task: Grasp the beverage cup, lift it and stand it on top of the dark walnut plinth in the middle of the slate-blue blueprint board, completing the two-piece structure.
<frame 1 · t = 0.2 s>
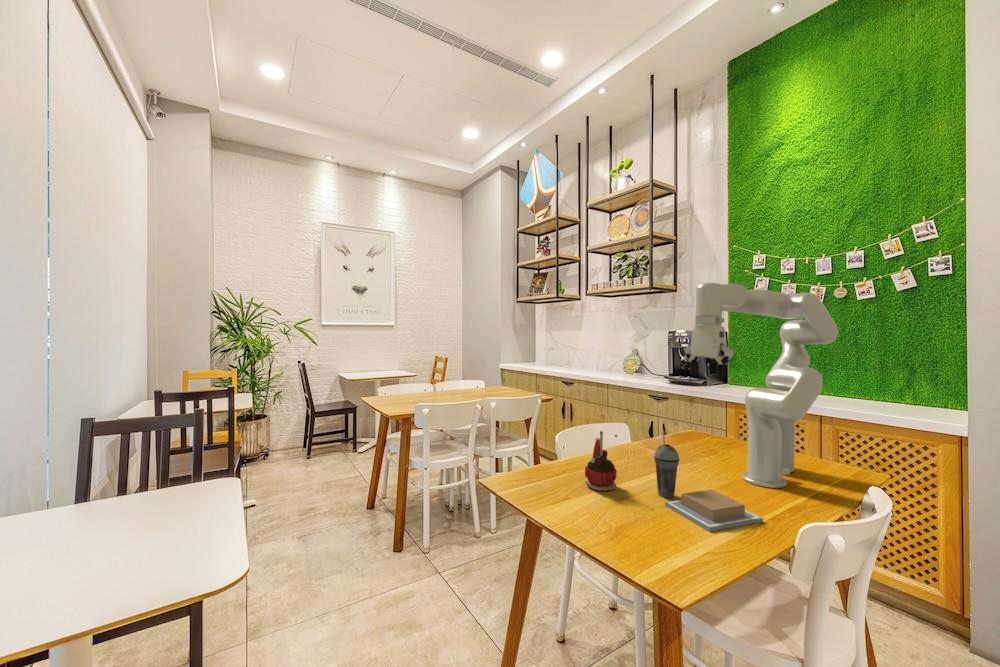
hand: (706, 375, 129), 36 cm above the table, tool pointing down, fingers open, 9 cm apart
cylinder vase: (773, 468, 150), on the table
beverage cup: (666, 496, 124), on the table
blueprint board: (711, 513, 112), on the table
cake: (600, 487, 131), on the table
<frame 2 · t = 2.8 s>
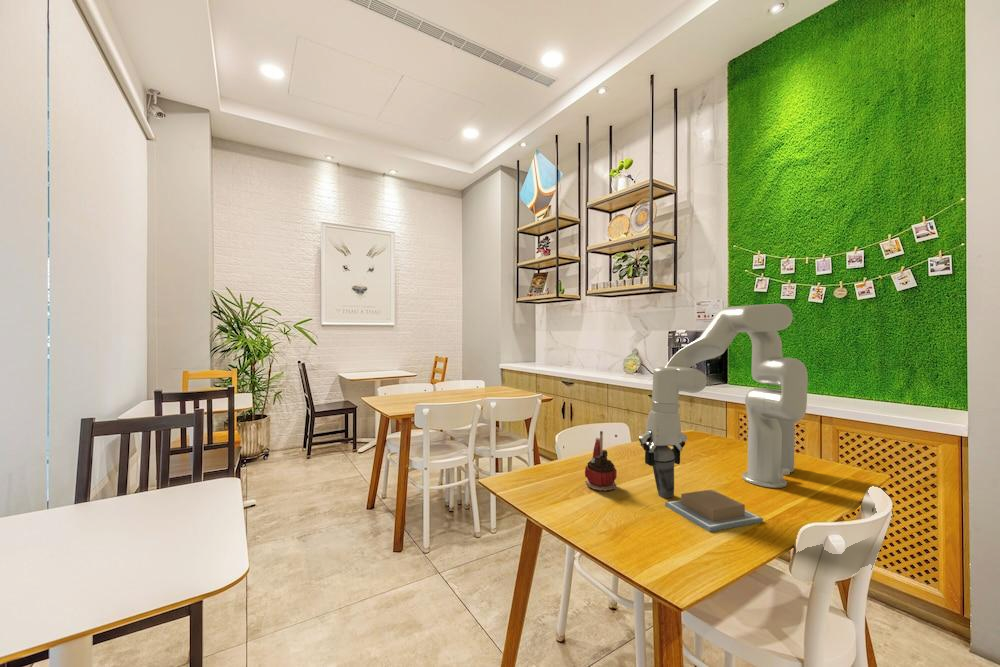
hand: (662, 463, 124), 10 cm above the table, tool pointing down, fingers open, 9 cm apart
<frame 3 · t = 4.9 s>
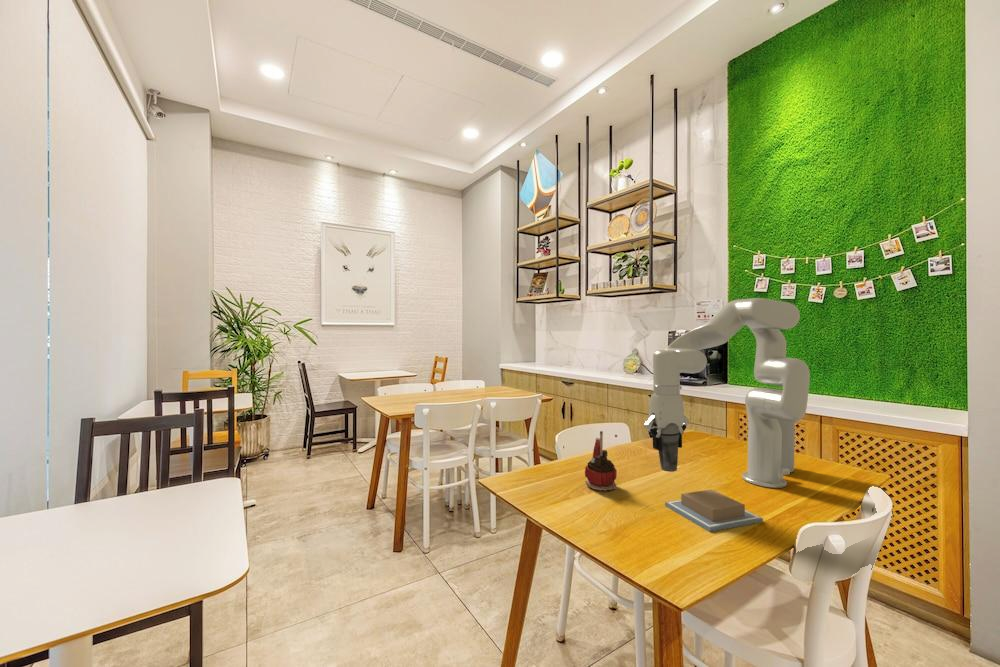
hand: (667, 447, 124), 15 cm above the table, tool pointing down, fingers closed on beverage cup, 6 cm apart
beverage cup: (669, 469, 124), point 8 cm above the table, touching gripper
everything else where it was.
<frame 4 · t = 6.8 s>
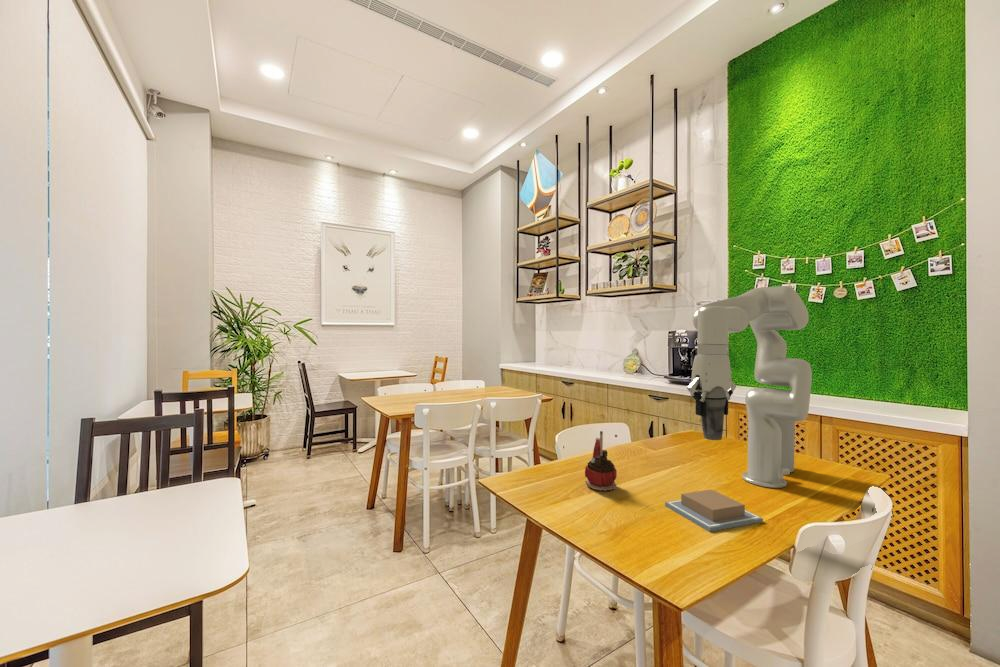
hand: (711, 414, 112), 28 cm above the table, tool pointing down, fingers closed on beverage cup, 6 cm apart
beverage cup: (712, 438, 112), point 21 cm above the table, touching gripper
everything else where it was.
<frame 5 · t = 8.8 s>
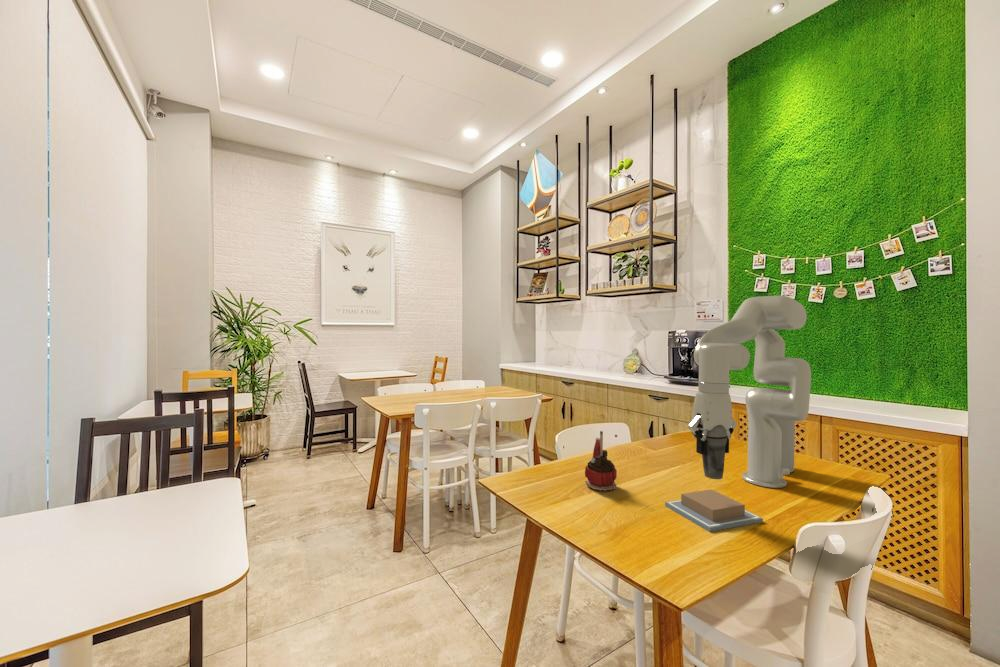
hand: (712, 452, 112), 17 cm above the table, tool pointing down, fingers closed on beverage cup, 6 cm apart
beverage cup: (713, 476, 112), point 10 cm above the table, touching gripper
everything else where it was.
when the fingers open (12 cm above the table, at t = 10.4 s): beverage cup drops 1 cm, resting on blueprint board.
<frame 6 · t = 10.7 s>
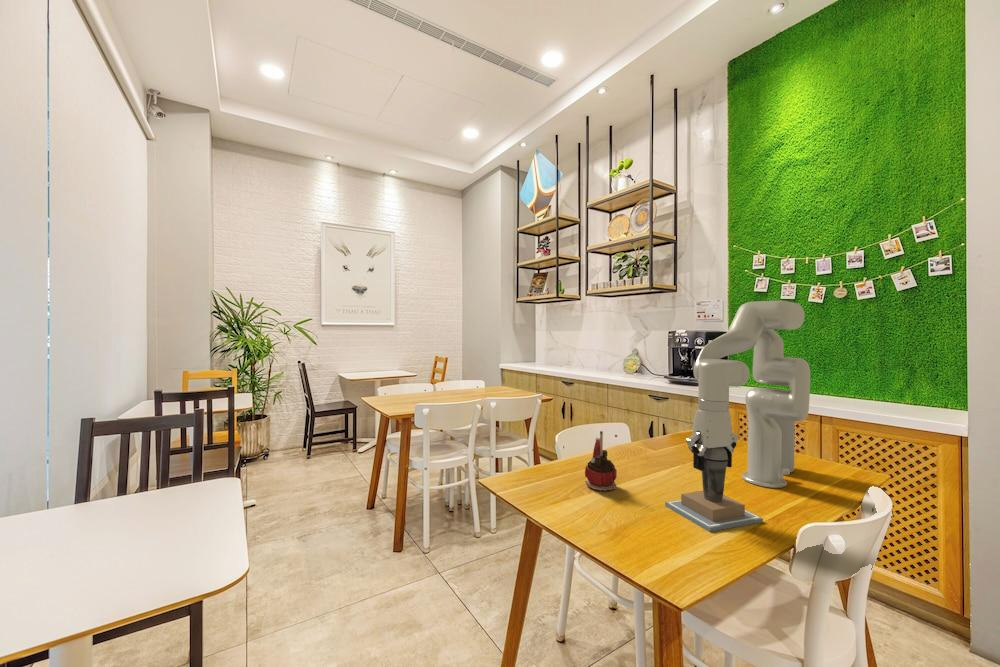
hand: (712, 467, 112), 13 cm above the table, tool pointing down, fingers open, 9 cm apart
beverage cup: (713, 499, 112), point 4 cm above the table, touching blueprint board
everything else where it was.
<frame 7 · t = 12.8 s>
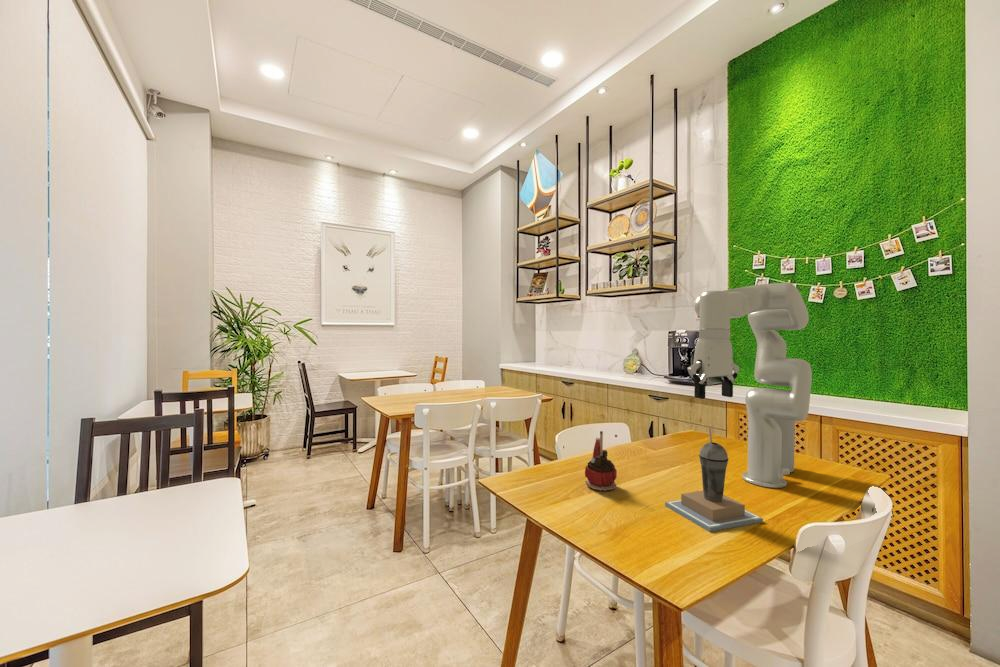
hand: (713, 397, 112), 32 cm above the table, tool pointing down, fingers open, 9 cm apart
nothing on the table moved.
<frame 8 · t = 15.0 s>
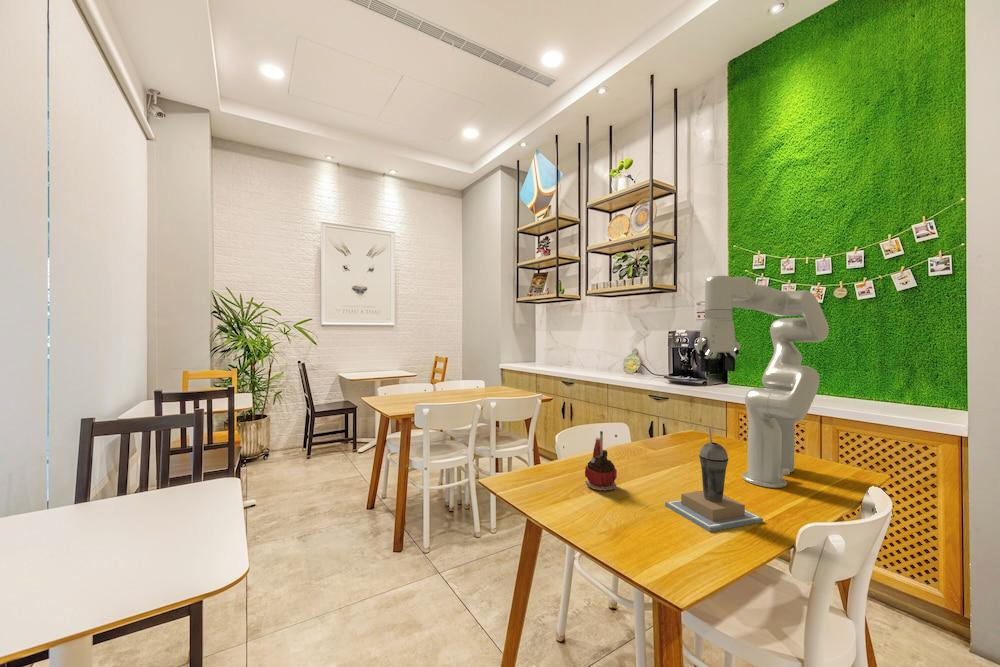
hand: (717, 371, 125), 38 cm above the table, tool pointing down, fingers open, 9 cm apart
nothing on the table moved.
at the end: beverage cup 0.4 cm off-centre on the blueprint board, point 3.8 cm above the blueprint board's base; beverage cup tilted 0°; the gripper is holding nothing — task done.
